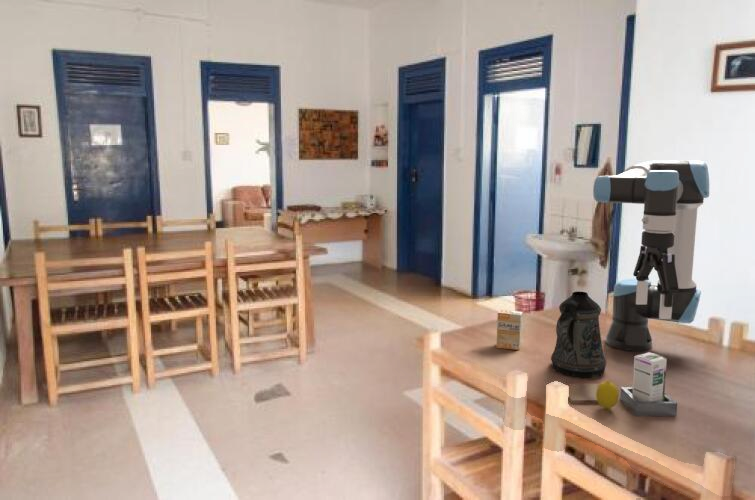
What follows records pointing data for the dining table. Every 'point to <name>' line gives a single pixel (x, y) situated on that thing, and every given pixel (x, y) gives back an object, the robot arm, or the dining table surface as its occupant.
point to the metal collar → (648, 404)
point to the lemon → (607, 394)
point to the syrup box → (649, 377)
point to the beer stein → (579, 339)
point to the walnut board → (583, 393)
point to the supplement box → (509, 329)
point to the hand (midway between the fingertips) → (652, 311)
